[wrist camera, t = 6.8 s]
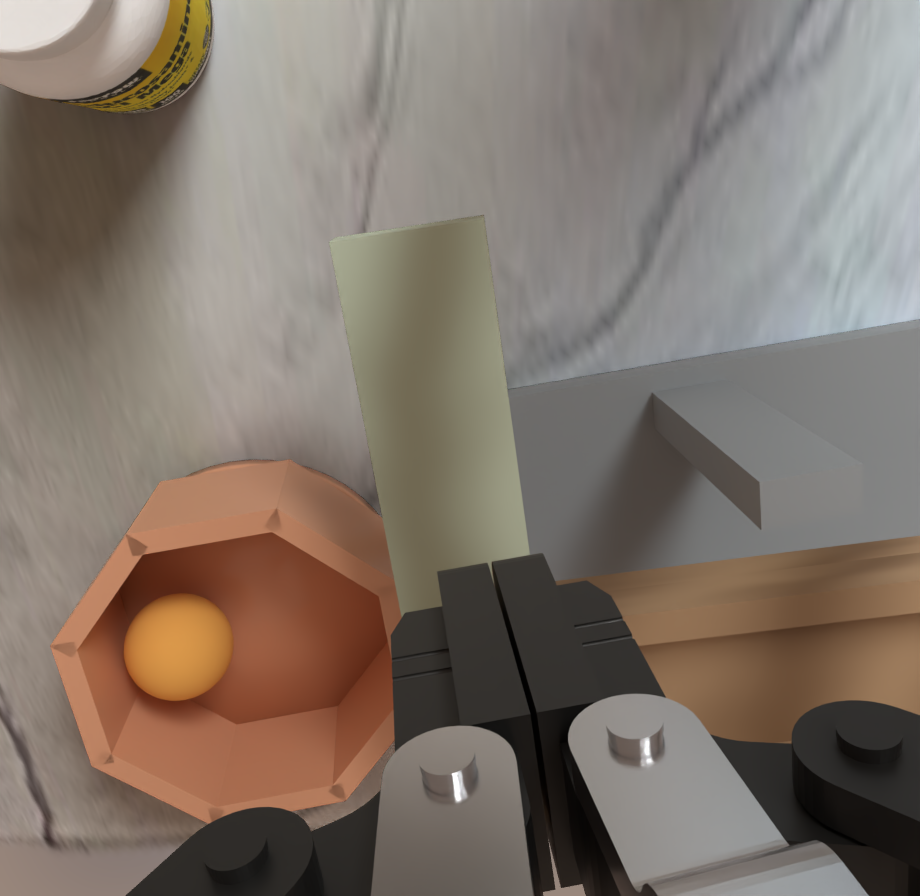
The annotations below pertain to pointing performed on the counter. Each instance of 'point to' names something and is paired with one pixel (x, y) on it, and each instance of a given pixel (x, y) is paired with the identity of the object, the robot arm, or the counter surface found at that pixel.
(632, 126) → the counter surface
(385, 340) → the chute
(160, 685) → the ball
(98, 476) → the counter surface
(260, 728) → the orange octagonal bowl
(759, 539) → the chute stand
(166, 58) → the pill bottle
